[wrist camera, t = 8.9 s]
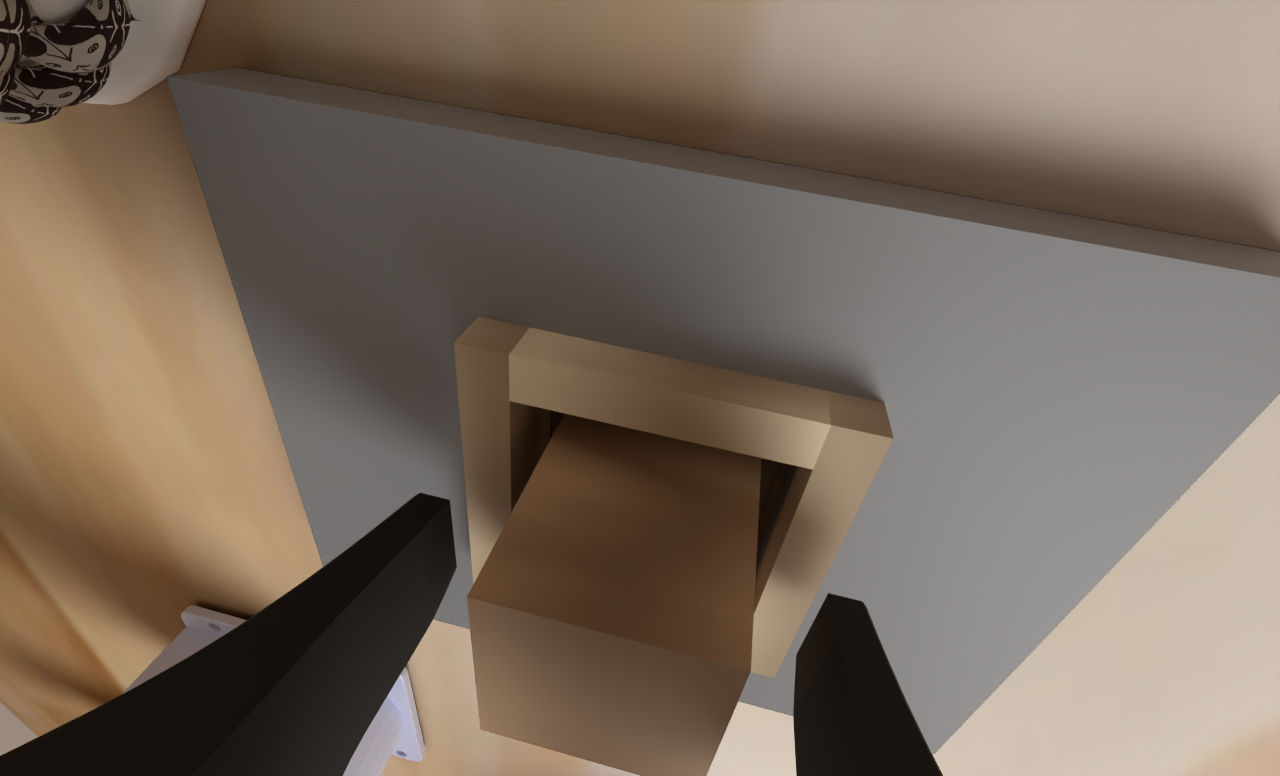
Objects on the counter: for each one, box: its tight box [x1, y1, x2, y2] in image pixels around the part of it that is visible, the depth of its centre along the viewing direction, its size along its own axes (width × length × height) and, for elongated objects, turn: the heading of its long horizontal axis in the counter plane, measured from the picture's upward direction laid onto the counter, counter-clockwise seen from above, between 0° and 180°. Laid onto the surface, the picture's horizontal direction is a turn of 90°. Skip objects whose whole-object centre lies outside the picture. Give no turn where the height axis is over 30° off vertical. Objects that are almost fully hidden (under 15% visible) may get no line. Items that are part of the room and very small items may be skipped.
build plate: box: [166, 68, 1280, 754], centre depth 13 cm, size 18×14×2 cm
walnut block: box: [467, 413, 761, 776], centre depth 11 cm, size 4×4×6 cm
